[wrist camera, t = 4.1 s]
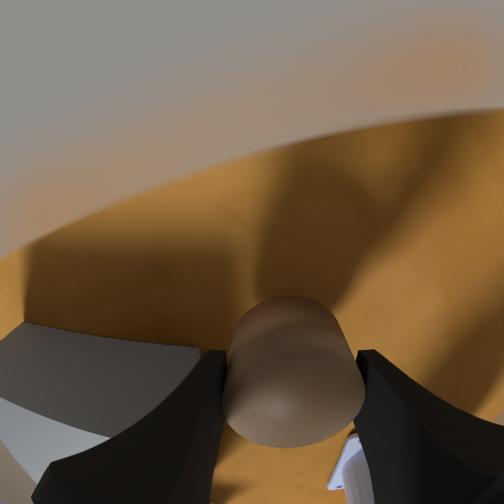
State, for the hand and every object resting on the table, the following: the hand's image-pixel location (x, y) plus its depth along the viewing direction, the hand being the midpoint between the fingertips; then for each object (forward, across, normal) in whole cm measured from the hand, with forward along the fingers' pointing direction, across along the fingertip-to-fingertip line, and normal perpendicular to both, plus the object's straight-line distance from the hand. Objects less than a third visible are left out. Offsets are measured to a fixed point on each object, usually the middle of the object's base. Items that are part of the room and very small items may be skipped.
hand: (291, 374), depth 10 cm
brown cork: (+2, 0, 0) cm, 2 cm away
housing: (+4, +10, +8) cm, 13 cm away
